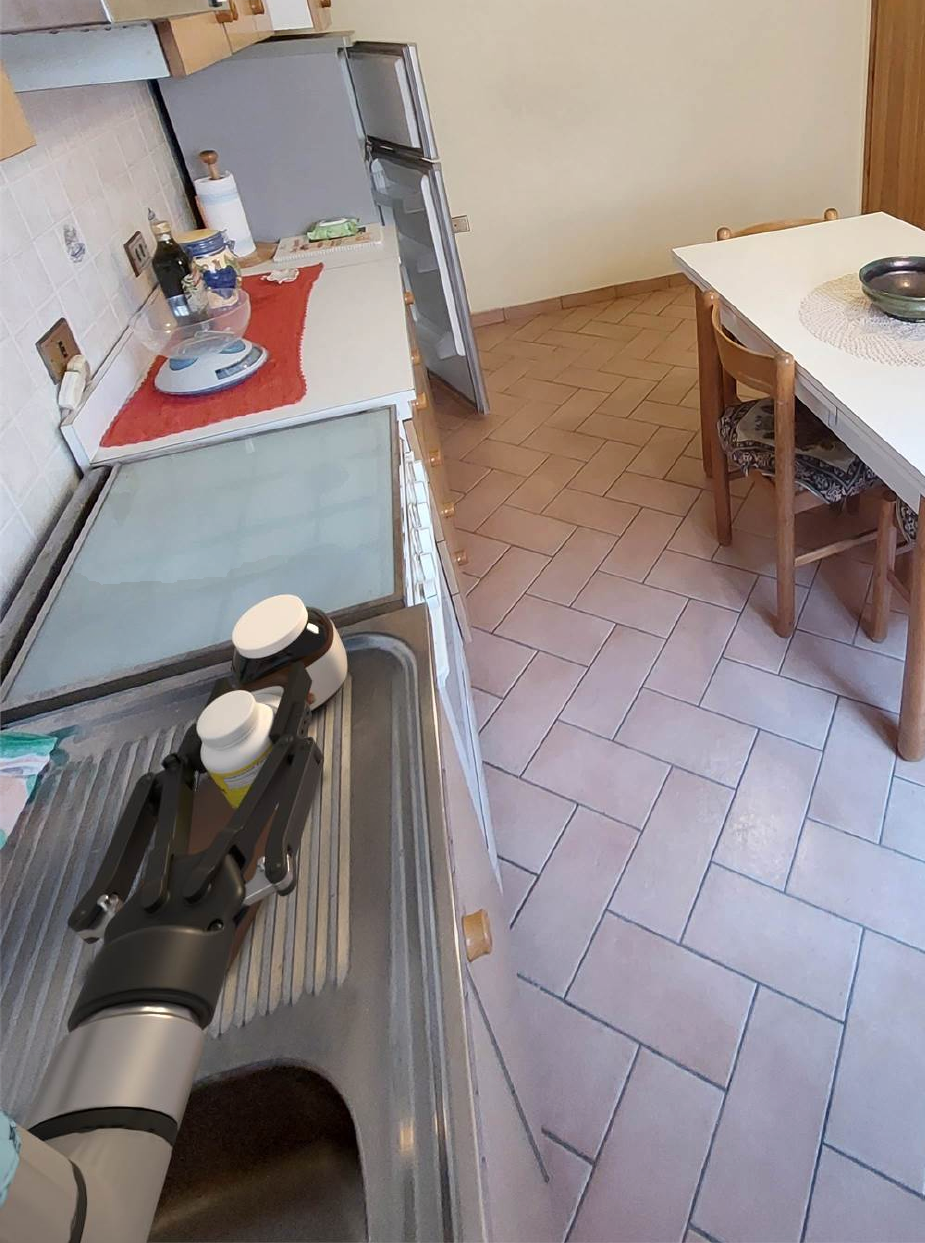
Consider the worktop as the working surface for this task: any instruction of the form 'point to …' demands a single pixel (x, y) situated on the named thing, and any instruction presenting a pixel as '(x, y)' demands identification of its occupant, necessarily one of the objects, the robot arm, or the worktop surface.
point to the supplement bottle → (235, 742)
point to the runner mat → (206, 823)
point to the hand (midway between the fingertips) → (265, 680)
